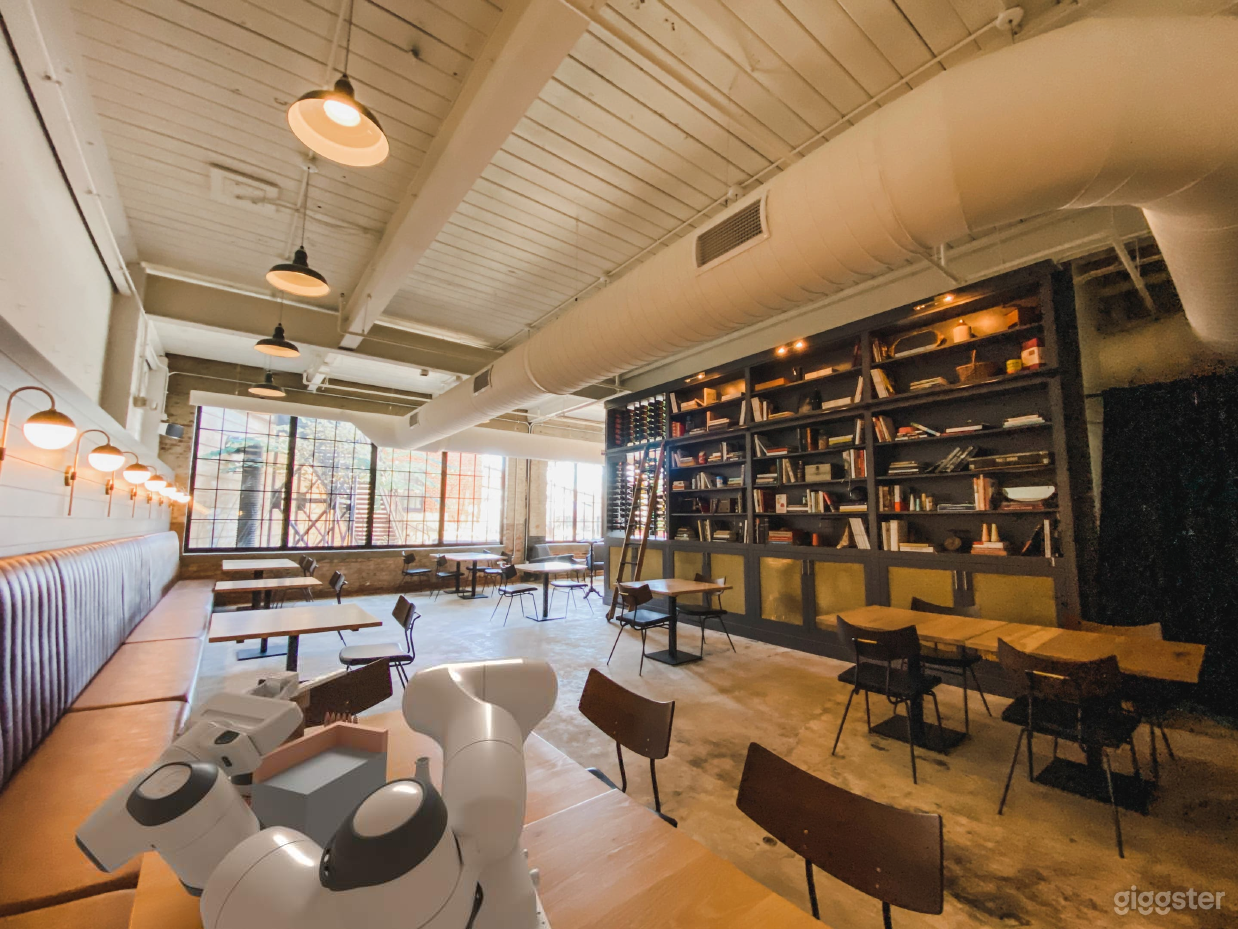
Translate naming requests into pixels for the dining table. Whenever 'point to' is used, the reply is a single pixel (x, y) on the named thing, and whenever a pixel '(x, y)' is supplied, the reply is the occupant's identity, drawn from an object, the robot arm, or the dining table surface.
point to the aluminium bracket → (279, 679)
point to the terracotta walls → (321, 746)
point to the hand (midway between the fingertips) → (285, 681)
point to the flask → (423, 768)
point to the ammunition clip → (332, 720)
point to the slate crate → (319, 791)
